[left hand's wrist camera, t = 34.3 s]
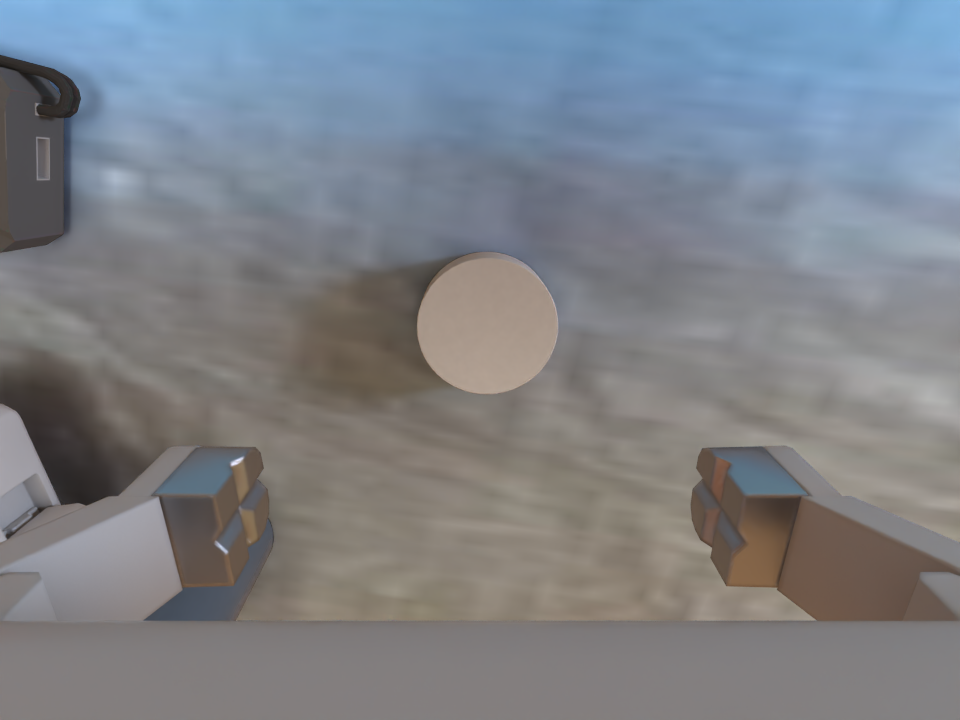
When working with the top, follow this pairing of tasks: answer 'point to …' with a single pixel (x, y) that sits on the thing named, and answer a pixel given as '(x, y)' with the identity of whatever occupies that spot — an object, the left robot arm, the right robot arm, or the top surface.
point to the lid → (487, 323)
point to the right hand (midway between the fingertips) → (189, 609)
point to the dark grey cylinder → (218, 591)
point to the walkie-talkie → (32, 152)
